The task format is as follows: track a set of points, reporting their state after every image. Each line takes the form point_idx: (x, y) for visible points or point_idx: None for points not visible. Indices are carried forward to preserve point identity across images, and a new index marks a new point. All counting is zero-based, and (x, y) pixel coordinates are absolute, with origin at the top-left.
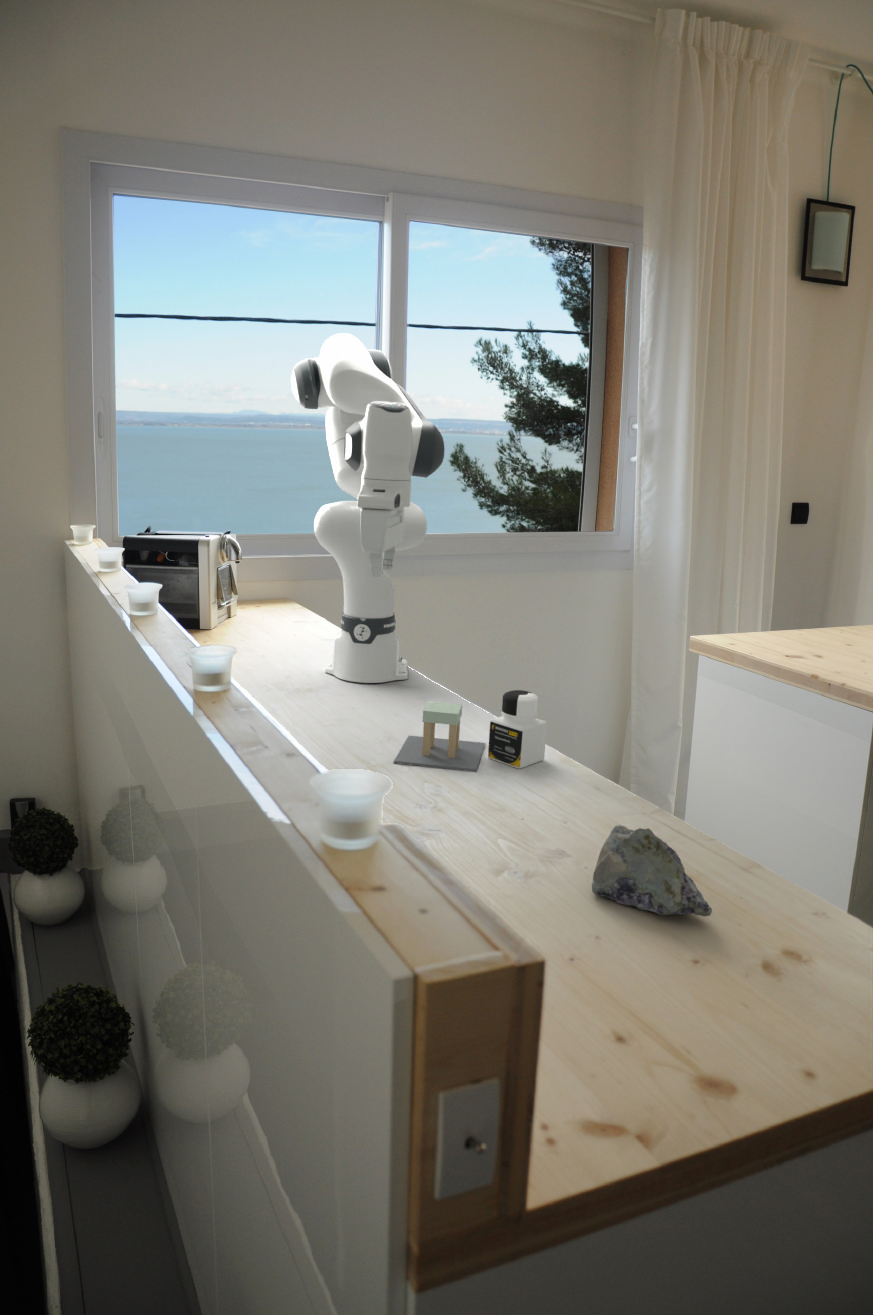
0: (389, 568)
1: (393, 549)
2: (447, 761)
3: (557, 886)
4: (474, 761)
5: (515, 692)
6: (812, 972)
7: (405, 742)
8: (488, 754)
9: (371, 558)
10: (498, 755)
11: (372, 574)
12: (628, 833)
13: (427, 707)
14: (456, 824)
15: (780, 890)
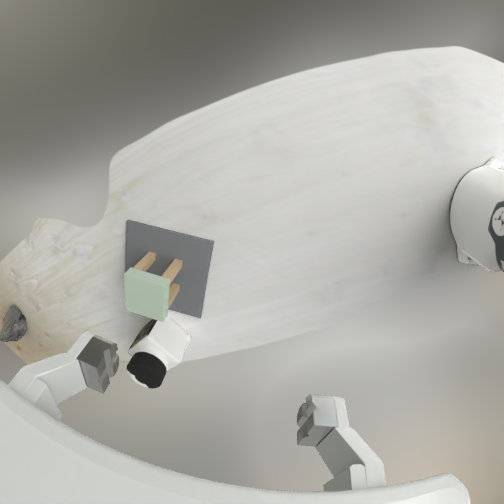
0: (299, 410)
1: (326, 484)
2: None
3: (15, 294)
4: None
5: (142, 375)
6: (14, 347)
7: (186, 236)
8: None
9: (27, 369)
10: (152, 320)
11: (84, 334)
12: (1, 332)
13: (137, 281)
14: (42, 260)
15: None
